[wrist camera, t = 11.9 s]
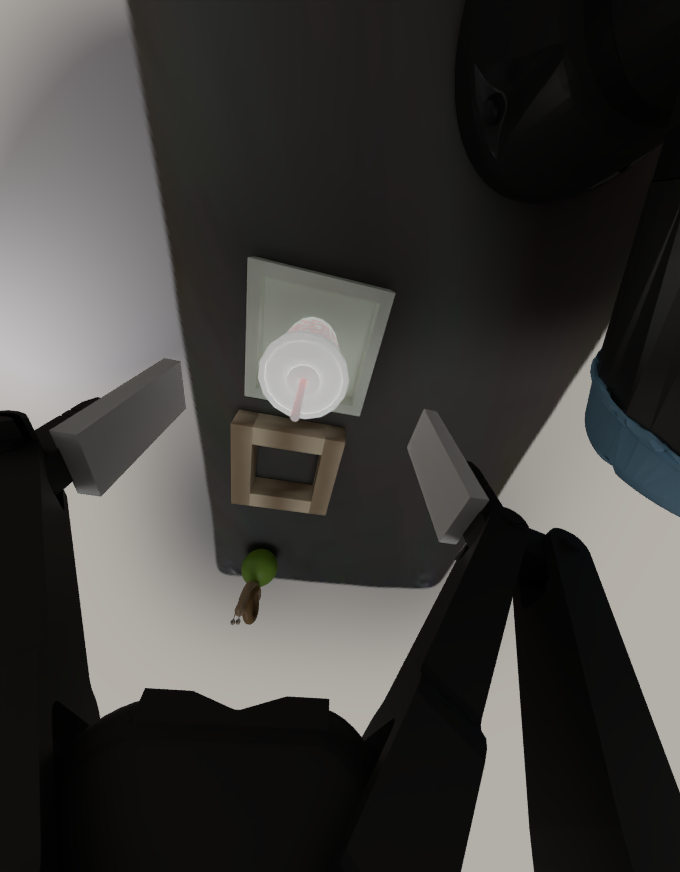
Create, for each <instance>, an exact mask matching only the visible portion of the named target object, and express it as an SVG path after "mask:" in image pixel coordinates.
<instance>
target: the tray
mask: <svg viewBox="0 0 680 872" xmlns="http://www.w3.org/2000/svg"><path fill="white" fill-rule="evenodd" d="M395 294H396V293H394V292H393V291H392V290H390V289H386V288H382V287H378V286H374V285H370V284H366V283H362V282H358V281H353V280H349V279H345V278H341V277H337V276H333V275H329V274H325V273H321V272H317V271H313V270H309V269H305V268H301V267H297V266H292V265H288V264H284V263H280V262H276V261H272V260H268V259H264V258H260V257H256V256H255V257H248V263H247V309H246V355H245V396H249V397H255V398H260V399H266V400H268V399H267V398H266V397H265V396H264V395H263V392H262V389H261V386H260V383H259V380H258V371H259V361H260V359H261V358H262V356H263V354H264V353H265V351H266V349H267V347H268V346H269V345H270V344H271V343H272V342H273V341H275V340H276V339H278V338H279V337H281V336H282V335H284V334H285V333H287V331H288V330H289V329H290V328H291V327H292V326H293V325H294V324H295V323H297V322H298V321H300V320H301V319H303V318H308V317H315V318H319V319H323V320H324V321H325V322H326V323H328V324H329V325H330V326H331V327H332V329H333V331H334V332H335V334H336V338H337V342H338V346H339V350H340V352H341V354H342V355H343V357H344V359H345V360H346V363H347V370H348V377H349V384H348V388H347V391H346V395H345V398H344V399H343V400H342V401H341V402H340V404H339V405H338V406H337V407H336V409H335V410H333V411H332V412H338V413H343V414H349V415H355V416H360V413H361V410H362V406H363V403H364V400H365V396H366V393H367V389H368V386H369V382H370V379H371V376H372V372H373V369H374V365H375V362H376V358H377V355H378V352H379V348H380V345H381V341H382V338H383V335H384V331H385V328H386V324H387V321H388V317H389V314H390V311H391V307H392V304H393V300H394V297H395Z"/></svg>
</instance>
